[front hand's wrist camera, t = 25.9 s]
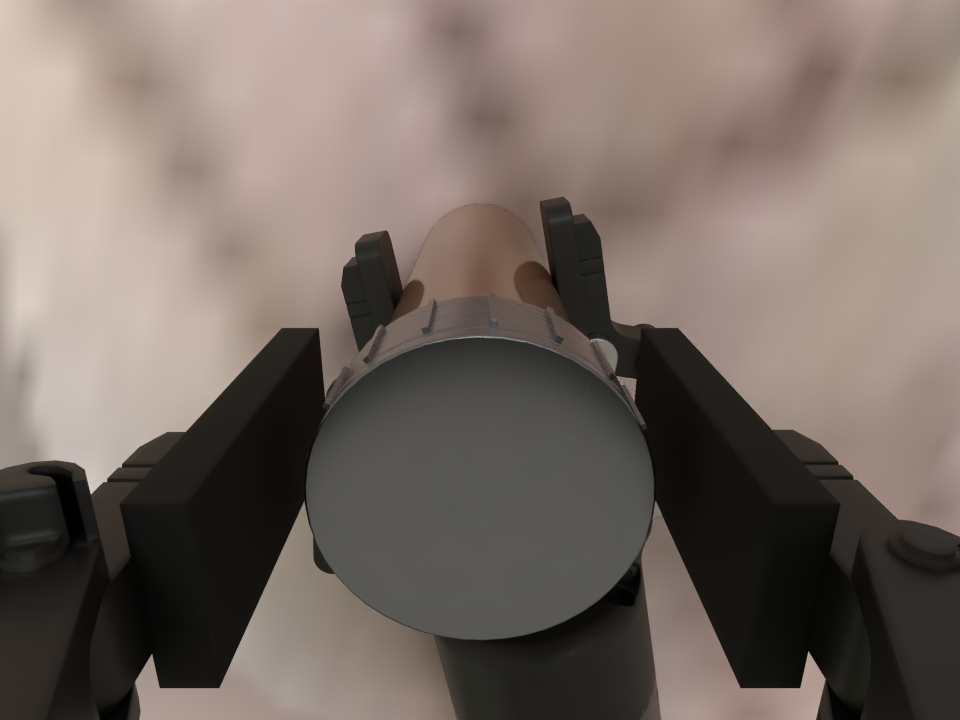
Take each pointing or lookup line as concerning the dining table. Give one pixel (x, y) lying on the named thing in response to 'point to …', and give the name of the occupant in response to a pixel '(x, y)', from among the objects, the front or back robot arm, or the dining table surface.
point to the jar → (479, 262)
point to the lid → (480, 471)
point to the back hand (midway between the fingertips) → (461, 222)
